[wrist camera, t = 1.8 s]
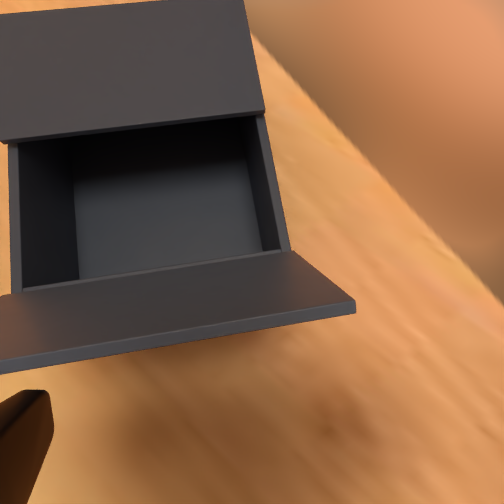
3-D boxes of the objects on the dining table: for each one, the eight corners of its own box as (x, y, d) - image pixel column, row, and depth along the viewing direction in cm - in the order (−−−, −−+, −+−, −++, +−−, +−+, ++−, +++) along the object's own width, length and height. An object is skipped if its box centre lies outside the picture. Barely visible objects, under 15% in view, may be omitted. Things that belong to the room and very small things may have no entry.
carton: (274, 282, 25) (295, 252, 17) (76, 313, 24) (0, 298, 16) (239, 90, 29) (242, -9, 21) (63, 109, 28) (-5, 12, 20)
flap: (293, 250, 17) (294, 258, 18) (2, 294, 16) (4, 303, 16) (356, 300, 10) (357, 313, 10) (-159, 386, 9) (-153, 401, 9)
